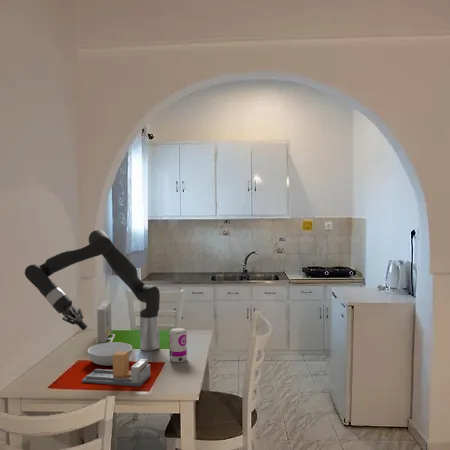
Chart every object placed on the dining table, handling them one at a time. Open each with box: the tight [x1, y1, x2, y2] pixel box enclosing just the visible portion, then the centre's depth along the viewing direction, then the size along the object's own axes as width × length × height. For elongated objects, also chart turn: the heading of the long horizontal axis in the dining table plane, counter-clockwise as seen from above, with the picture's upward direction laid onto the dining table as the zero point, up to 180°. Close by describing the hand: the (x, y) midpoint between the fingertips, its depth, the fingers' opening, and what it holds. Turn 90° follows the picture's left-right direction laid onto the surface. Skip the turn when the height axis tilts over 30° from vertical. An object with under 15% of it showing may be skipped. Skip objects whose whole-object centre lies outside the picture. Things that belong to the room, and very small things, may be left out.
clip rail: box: [81, 358, 151, 387], centre depth 193 cm, size 26×12×8 cm, turn 79°
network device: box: [95, 300, 116, 345], centre depth 253 cm, size 26×9×20 cm, turn 6°
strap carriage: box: [112, 351, 131, 378], centre depth 192 cm, size 12×5×10 cm, turn 79°
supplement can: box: [168, 327, 188, 363], centre depth 217 cm, size 8×8×15 cm
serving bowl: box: [87, 341, 133, 367], centre depth 215 cm, size 21×21×7 cm
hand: (85, 328), depth 197 cm, fingers closed
